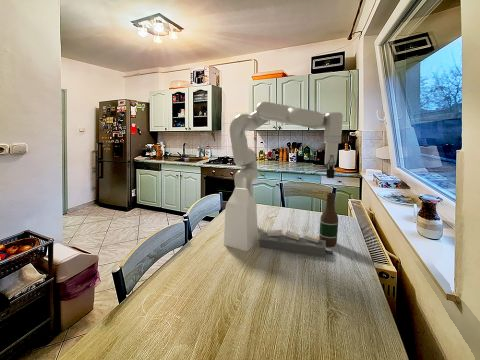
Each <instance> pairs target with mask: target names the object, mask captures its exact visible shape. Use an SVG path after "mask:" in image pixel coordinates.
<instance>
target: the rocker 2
mask: <svg viewBox="0 0 480 360" xmlns="http://www.w3.org/2000/svg"><path fill="white" fill-rule="evenodd" d="M303 238H305V239H308V240H311V241H314V242H317V243H318V241H319V235H318V236H317V235H314V234H311V233H308V232H305V234H304V236H303Z"/></svg>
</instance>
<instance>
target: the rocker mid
mask: <svg viewBox="0 0 480 360" xmlns="http://www.w3.org/2000/svg"><path fill="white" fill-rule="evenodd" d="M284 235H285V236H287V237H290V238H293V239H296V240H299V238H300V237H301V234H300V233H295V232H293V231H290V230H286V232H285V234H284Z"/></svg>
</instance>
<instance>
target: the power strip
mask: <svg viewBox="0 0 480 360" xmlns="http://www.w3.org/2000/svg"><path fill="white" fill-rule="evenodd" d="M267 233H268V232H263V233H262V234H261V235H260V237H258V248H259V249H266V250H273V251H280V252H285V253H293V254H299V255H306V256H314V257H321V258H326V254H331V255H333V253H334V250H327V249H326V248H327V247H326V241H325V240H319V241H318V243H317V242H314V241H311V240H308V239H305V238H304V237H301V236H300V238H299V240H296V239H293V238H290V237H287V236H285V235H286V234H281V235H277V236H268V234H267Z"/></svg>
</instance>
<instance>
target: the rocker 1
mask: <svg viewBox="0 0 480 360" xmlns="http://www.w3.org/2000/svg"><path fill="white" fill-rule="evenodd" d="M266 233H267V234H268V236H277V235H283V230H282V229H273V230H268V232H266Z"/></svg>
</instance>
